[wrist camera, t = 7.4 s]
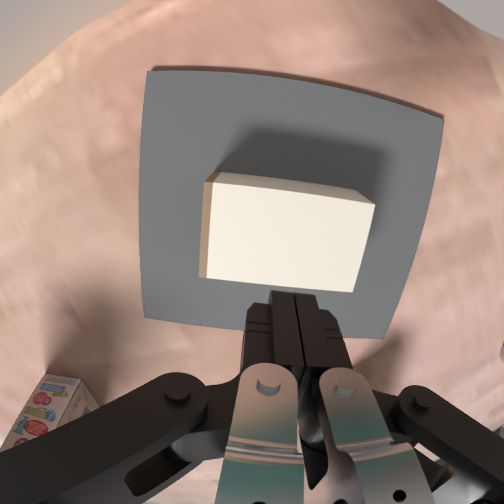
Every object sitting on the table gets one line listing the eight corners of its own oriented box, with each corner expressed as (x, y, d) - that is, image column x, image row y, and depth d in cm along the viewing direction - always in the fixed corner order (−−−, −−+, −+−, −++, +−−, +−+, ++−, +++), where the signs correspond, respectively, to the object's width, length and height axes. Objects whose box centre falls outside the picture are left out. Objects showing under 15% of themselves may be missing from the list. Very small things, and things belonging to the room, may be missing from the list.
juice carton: (102, 411, 33) (53, 546, 13) (67, 405, 33) (14, 524, 13) (81, 378, 30) (13, 525, 10) (45, 373, 30) (-24, 498, 10)
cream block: (375, 204, 17) (204, 181, 16) (352, 292, 19) (198, 277, 19) (355, 190, 20) (213, 171, 20) (338, 265, 23) (208, 251, 23)
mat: (440, 119, 18) (444, 119, 18) (382, 335, 26) (383, 338, 26) (149, 72, 18) (147, 71, 17) (145, 314, 26) (144, 317, 25)
